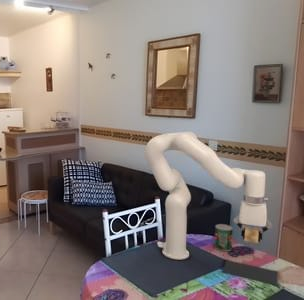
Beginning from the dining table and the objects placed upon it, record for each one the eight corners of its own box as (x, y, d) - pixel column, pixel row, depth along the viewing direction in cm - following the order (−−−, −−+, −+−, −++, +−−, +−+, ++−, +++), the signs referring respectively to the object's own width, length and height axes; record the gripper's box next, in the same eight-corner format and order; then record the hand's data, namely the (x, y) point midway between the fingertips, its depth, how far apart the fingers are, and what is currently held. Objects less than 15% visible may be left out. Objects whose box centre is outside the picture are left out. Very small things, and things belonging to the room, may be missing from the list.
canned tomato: (234, 250, 159) (235, 230, 157) (218, 251, 159) (219, 230, 157) (226, 243, 167) (227, 223, 165) (211, 244, 167) (212, 224, 165)
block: (244, 240, 138) (245, 230, 137) (245, 236, 142) (245, 226, 141) (257, 243, 135) (258, 232, 134) (258, 239, 139) (258, 228, 138)
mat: (222, 272, 140) (222, 271, 140) (226, 260, 150) (226, 260, 150) (277, 285, 129) (277, 284, 129) (276, 271, 139) (277, 271, 139)
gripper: (277, 199, 134) (274, 240, 137) (232, 194, 143) (230, 232, 146) (277, 204, 128) (274, 247, 131) (230, 198, 137) (228, 238, 140)
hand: (251, 239), depth 138 cm, fingers closed on block, 5 cm apart
